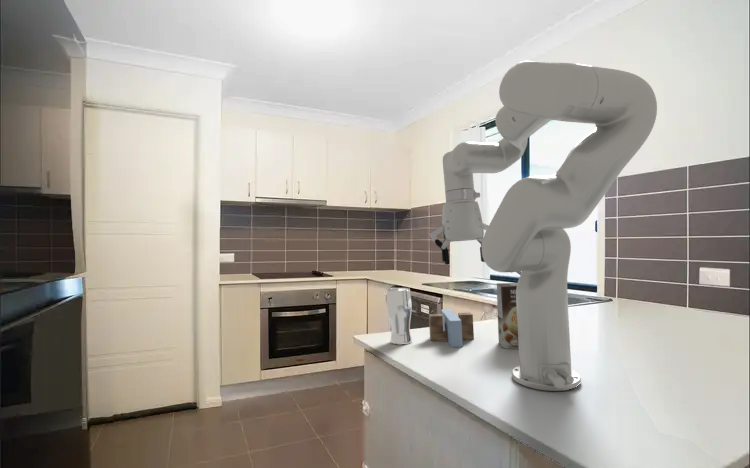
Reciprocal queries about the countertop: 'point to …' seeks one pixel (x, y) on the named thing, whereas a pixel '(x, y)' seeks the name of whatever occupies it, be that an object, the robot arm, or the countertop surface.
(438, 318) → the brown wooden u-shaped block
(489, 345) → the countertop surface
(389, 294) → the beer glass
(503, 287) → the coffee box
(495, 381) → the countertop surface
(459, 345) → the pale blue tapered slab
